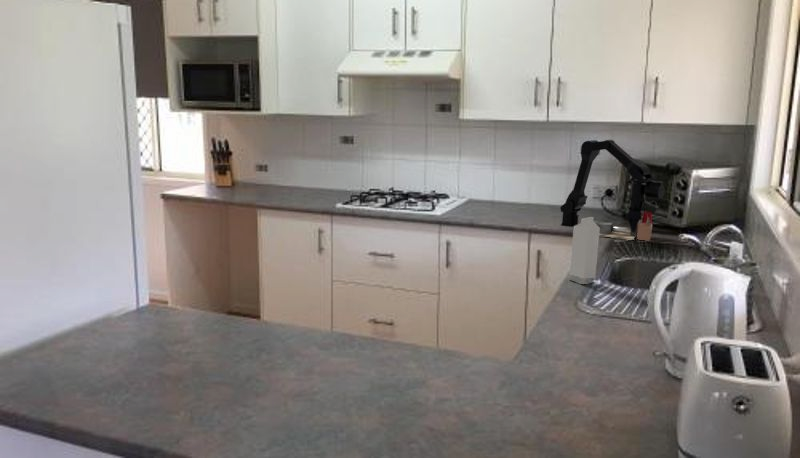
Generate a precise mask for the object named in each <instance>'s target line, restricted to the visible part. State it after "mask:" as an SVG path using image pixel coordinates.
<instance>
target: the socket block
mask: <svg viewBox="0 0 800 458" xmlns="http://www.w3.org/2000/svg"><path fill="white" fill-rule="evenodd" d="M652 231H653V223H652V222H651V223H641V222H640V223H639V225H638V232H637V236H636V240H637V239H640V240H646V241H649V242H650V241H651V238H652ZM646 241H645V242H646Z"/></svg>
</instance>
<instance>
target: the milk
mask: <svg viewBox="0 0 800 458" xmlns="http://www.w3.org/2000/svg"><path fill="white" fill-rule="evenodd" d="M594 221H595V220H594V216H589V217H584V218H581V220H580V223H578V224H577V225H576V226H573V232H572V241H571V242H572V245H571V256H570V257H571V258H570V265H569V266H570V269H569V276H570V275H574V276H578V277H580V278H584V279H585V278H594V279H595V280H596V275H597V274H596V273H597V261H598V254H599V253H598V251H599V240H600V237H599V232H600V228H599V227H598V226H597V224H596V223H595V222H594Z"/></svg>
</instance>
